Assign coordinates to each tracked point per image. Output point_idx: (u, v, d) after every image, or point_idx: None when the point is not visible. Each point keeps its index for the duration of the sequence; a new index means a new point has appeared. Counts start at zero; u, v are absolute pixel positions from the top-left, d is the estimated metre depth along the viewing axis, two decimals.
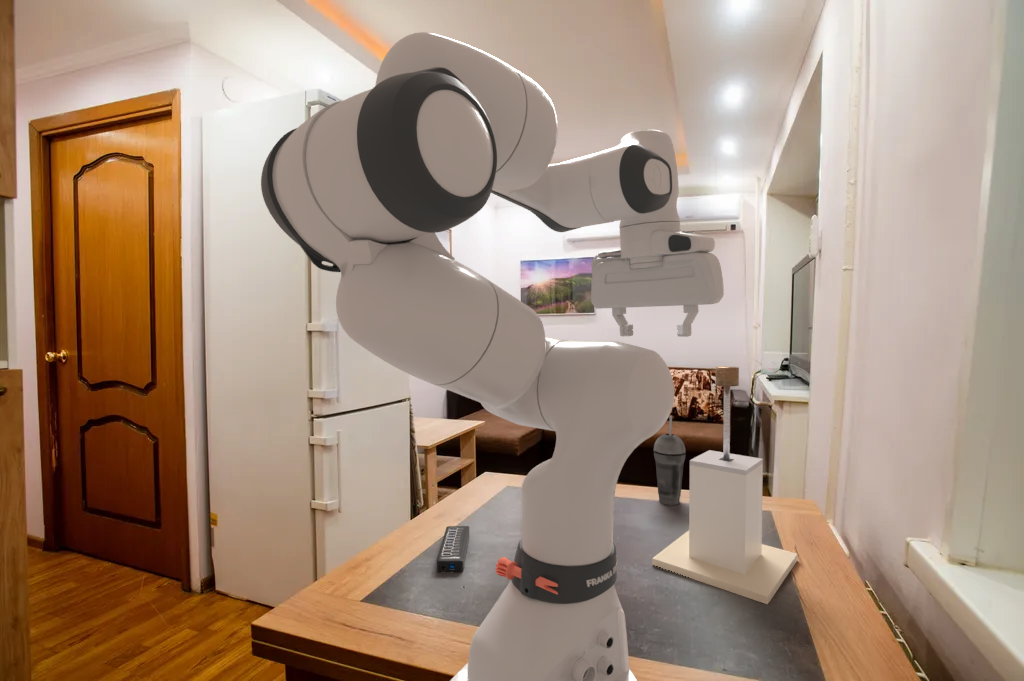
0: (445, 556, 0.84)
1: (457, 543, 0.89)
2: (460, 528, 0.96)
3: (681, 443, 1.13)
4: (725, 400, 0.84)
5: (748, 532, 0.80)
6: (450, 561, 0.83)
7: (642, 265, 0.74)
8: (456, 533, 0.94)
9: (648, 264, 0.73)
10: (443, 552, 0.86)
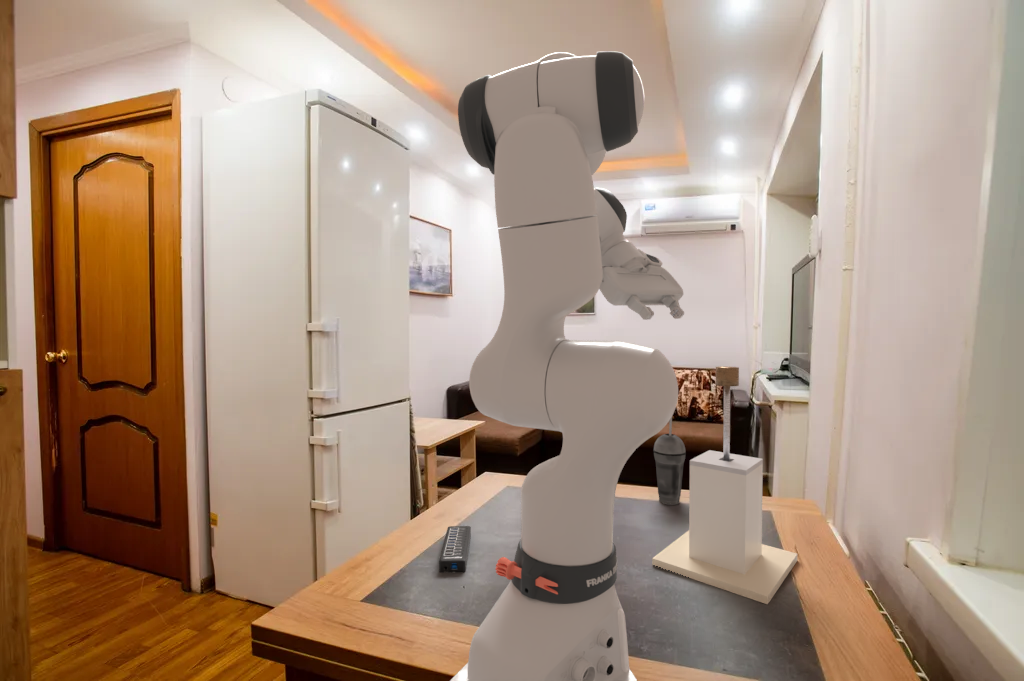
0: (447, 556, 0.84)
1: (459, 543, 0.89)
2: (462, 528, 0.96)
3: (681, 443, 1.13)
4: (725, 400, 0.84)
5: (748, 532, 0.80)
6: (452, 561, 0.83)
7: (641, 266, 0.97)
8: (458, 533, 0.94)
9: (644, 266, 0.98)
10: (445, 552, 0.86)
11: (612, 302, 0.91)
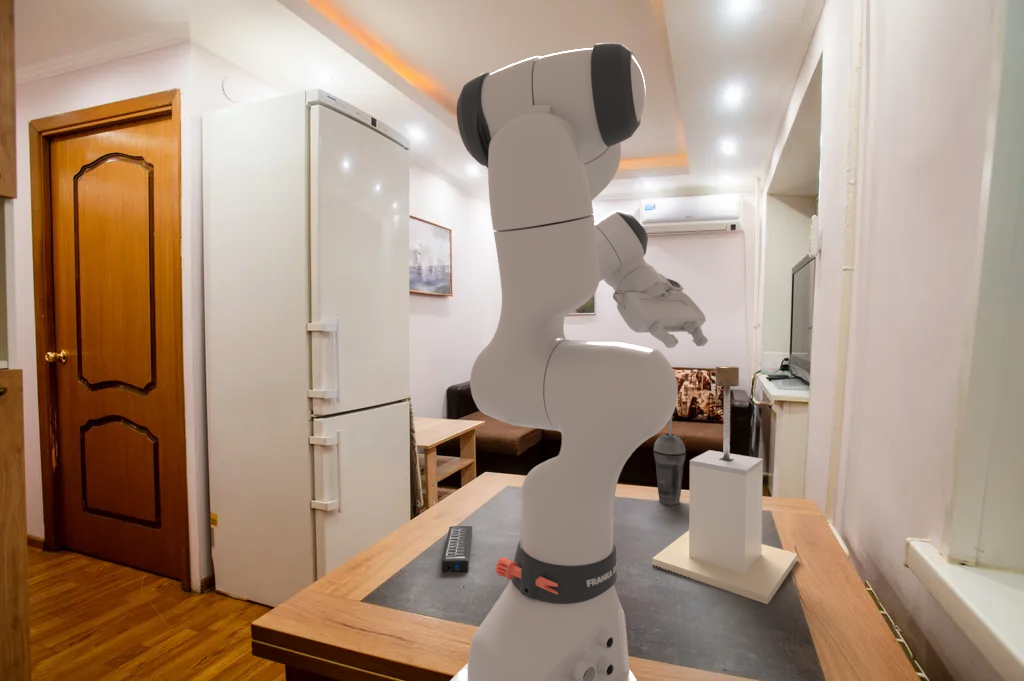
0: (450, 556, 0.84)
1: (462, 543, 0.89)
2: (463, 528, 0.96)
3: (681, 443, 1.13)
4: (725, 400, 0.84)
5: (748, 532, 0.80)
6: (455, 561, 0.83)
7: (663, 291, 0.94)
8: (459, 533, 0.94)
9: (666, 292, 0.95)
10: (448, 552, 0.86)
11: (635, 329, 0.87)
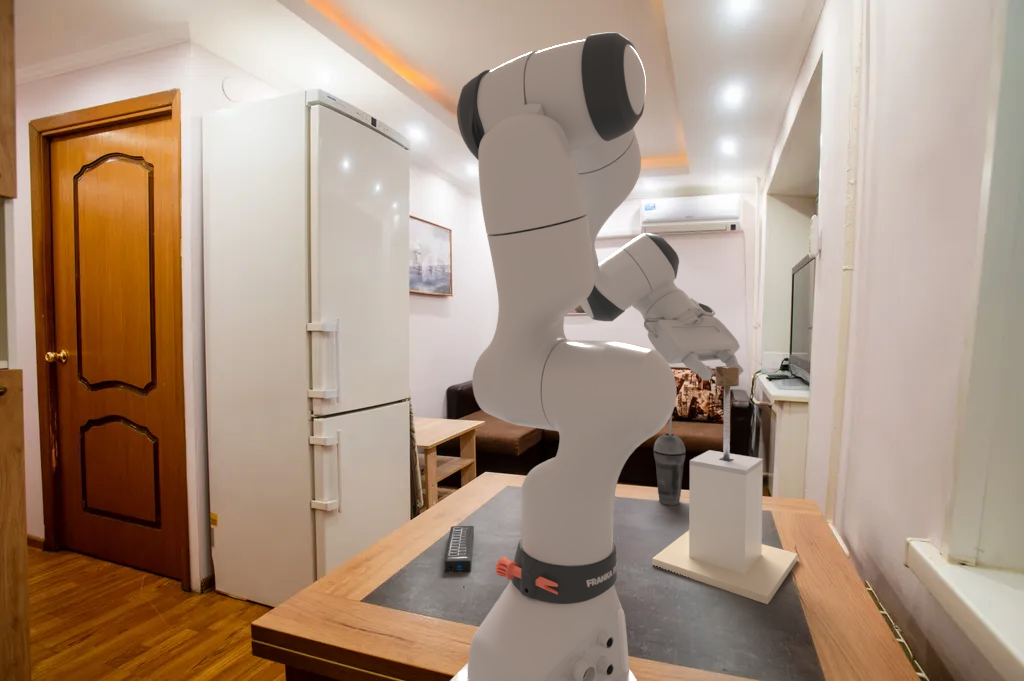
0: (452, 556, 0.84)
1: (464, 543, 0.89)
2: (465, 528, 0.96)
3: (681, 443, 1.13)
4: (725, 400, 0.84)
5: (748, 532, 0.80)
6: (458, 561, 0.83)
7: (696, 317, 0.89)
8: (461, 533, 0.94)
9: (698, 318, 0.89)
10: (450, 552, 0.86)
11: (668, 360, 0.82)
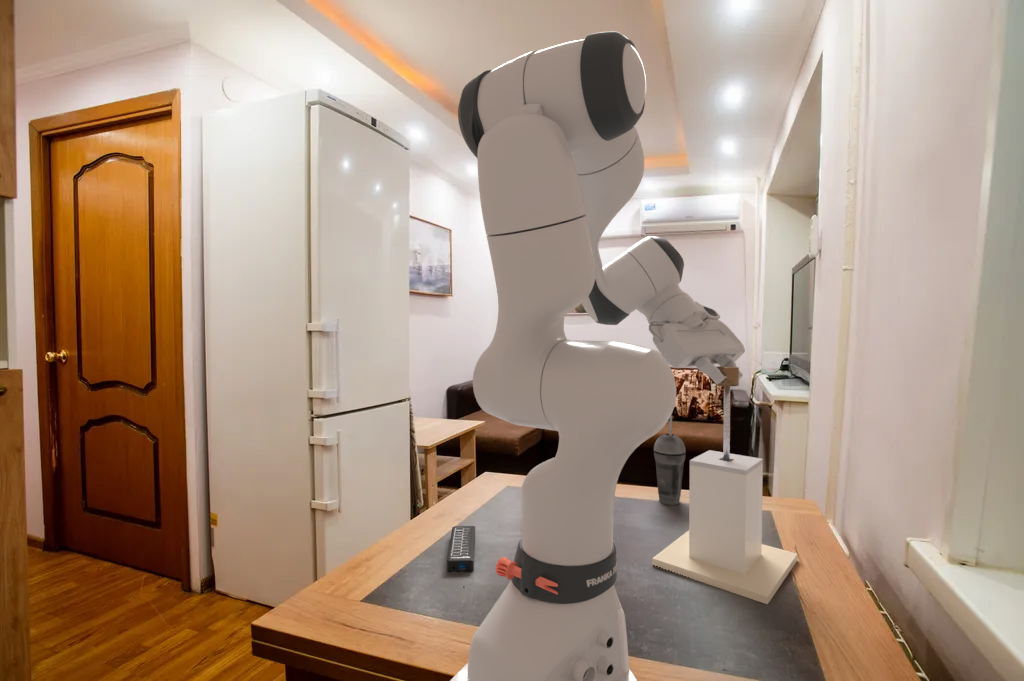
0: (455, 556, 0.84)
1: (466, 543, 0.89)
2: (466, 528, 0.96)
3: (681, 443, 1.13)
4: (725, 400, 0.84)
5: (748, 532, 0.80)
6: (461, 561, 0.83)
7: (701, 321, 0.88)
8: (463, 533, 0.94)
9: (704, 322, 0.89)
10: (452, 552, 0.86)
11: (673, 365, 0.81)
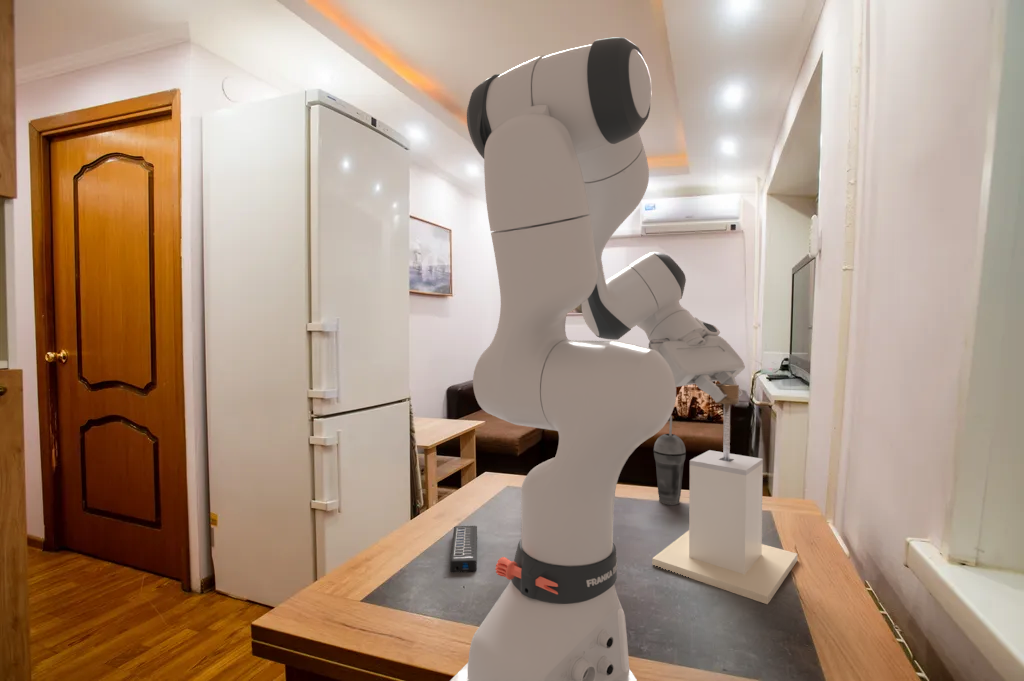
0: (458, 556, 0.84)
1: (468, 543, 0.89)
2: (468, 528, 0.96)
3: (681, 443, 1.13)
4: (725, 418, 0.84)
5: (748, 532, 0.80)
6: (464, 561, 0.83)
7: (701, 338, 0.88)
8: (465, 533, 0.94)
9: (703, 339, 0.89)
10: (455, 552, 0.86)
11: None
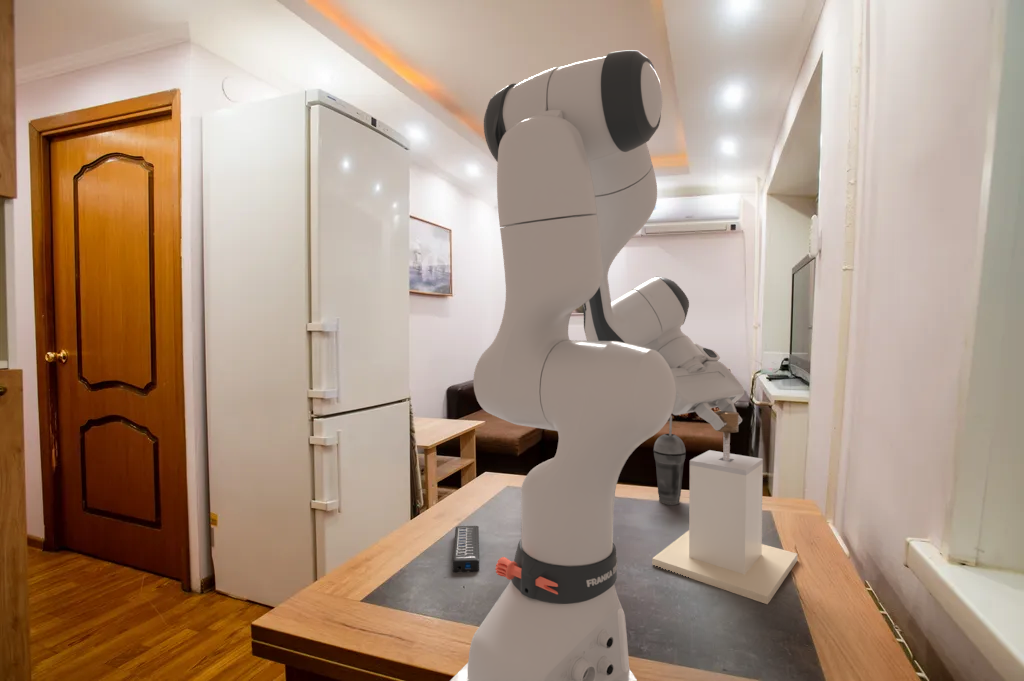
0: (460, 556, 0.84)
1: (470, 543, 0.89)
2: (470, 528, 0.96)
3: (681, 443, 1.13)
4: (725, 445, 0.84)
5: (748, 532, 0.80)
6: (466, 560, 0.83)
7: (701, 365, 0.88)
8: (467, 533, 0.94)
9: (703, 365, 0.89)
10: (457, 552, 0.86)
11: (673, 412, 0.82)
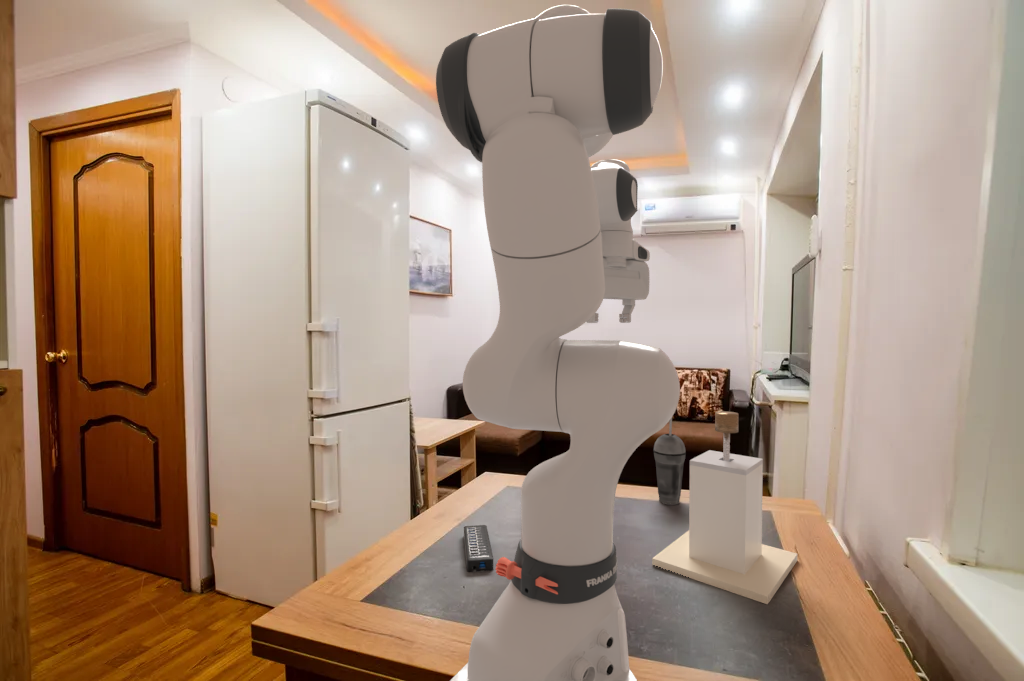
0: (474, 555, 0.85)
1: (481, 542, 0.90)
2: (478, 527, 0.96)
3: (681, 443, 1.13)
4: (725, 446, 0.84)
5: (748, 532, 0.80)
6: (481, 560, 0.83)
7: (622, 264, 0.93)
8: (476, 532, 0.94)
9: (625, 264, 0.94)
10: (470, 551, 0.86)
11: None
